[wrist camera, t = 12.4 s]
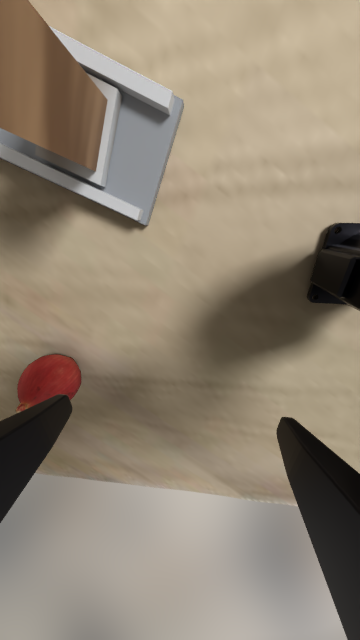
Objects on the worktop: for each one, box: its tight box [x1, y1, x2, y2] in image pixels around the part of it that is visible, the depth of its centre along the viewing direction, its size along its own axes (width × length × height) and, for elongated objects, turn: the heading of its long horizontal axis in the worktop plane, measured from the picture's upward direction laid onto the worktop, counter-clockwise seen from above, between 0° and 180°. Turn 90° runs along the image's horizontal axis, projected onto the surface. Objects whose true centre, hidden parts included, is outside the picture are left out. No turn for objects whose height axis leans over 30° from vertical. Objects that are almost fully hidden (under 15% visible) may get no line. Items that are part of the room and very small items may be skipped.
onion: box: [16, 354, 81, 413], centre depth 22 cm, size 6×6×8 cm
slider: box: [0, 26, 184, 225], centre depth 14 cm, size 15×8×2 cm, turn 67°
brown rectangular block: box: [0, 0, 122, 187], centre depth 9 cm, size 5×5×12 cm
